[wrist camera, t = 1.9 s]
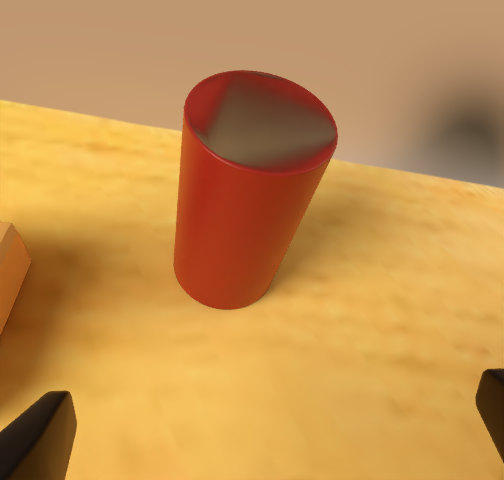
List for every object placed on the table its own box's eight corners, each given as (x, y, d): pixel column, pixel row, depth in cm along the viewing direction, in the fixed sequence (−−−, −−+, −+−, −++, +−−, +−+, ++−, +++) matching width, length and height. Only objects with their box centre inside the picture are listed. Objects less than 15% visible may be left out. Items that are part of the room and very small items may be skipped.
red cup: (212, 329, 24) (251, 200, 14) (153, 249, 26) (152, 91, 17) (293, 277, 27) (368, 142, 18) (234, 209, 30) (272, 57, 20)
